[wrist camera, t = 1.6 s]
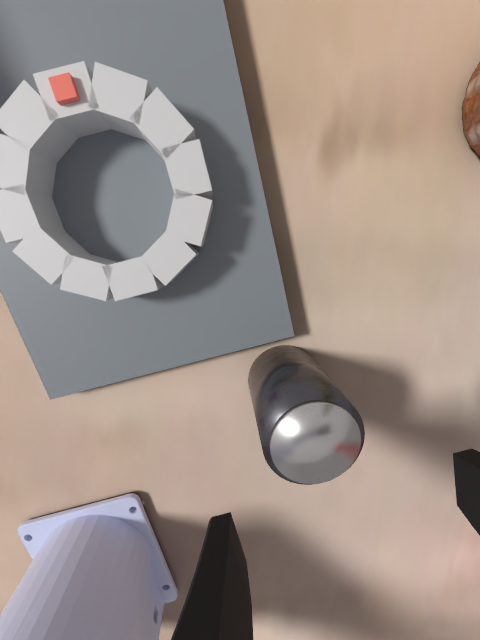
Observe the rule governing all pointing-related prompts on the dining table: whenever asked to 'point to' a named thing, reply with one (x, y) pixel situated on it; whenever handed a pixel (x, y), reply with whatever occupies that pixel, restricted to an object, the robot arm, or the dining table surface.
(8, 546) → the dining table surface
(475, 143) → the sauce bottle
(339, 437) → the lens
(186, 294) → the mount board
